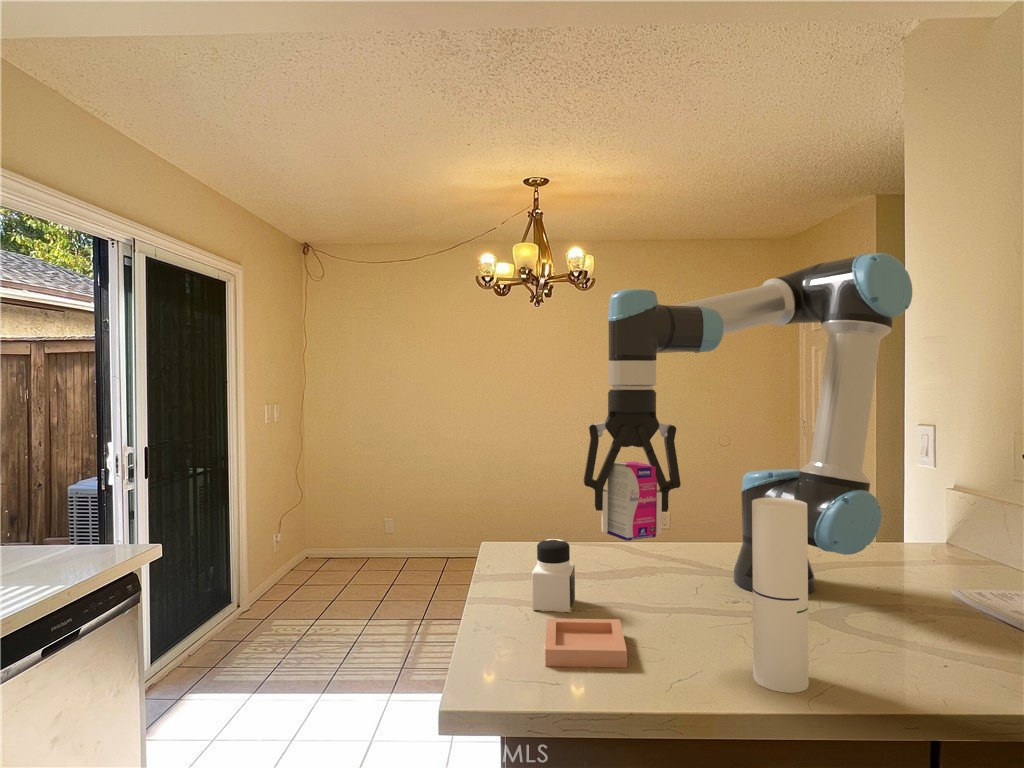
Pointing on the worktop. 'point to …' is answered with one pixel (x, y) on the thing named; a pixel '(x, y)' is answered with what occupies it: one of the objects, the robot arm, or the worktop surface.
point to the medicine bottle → (553, 577)
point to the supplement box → (632, 501)
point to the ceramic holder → (585, 643)
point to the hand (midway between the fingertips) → (631, 531)
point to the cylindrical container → (780, 594)
